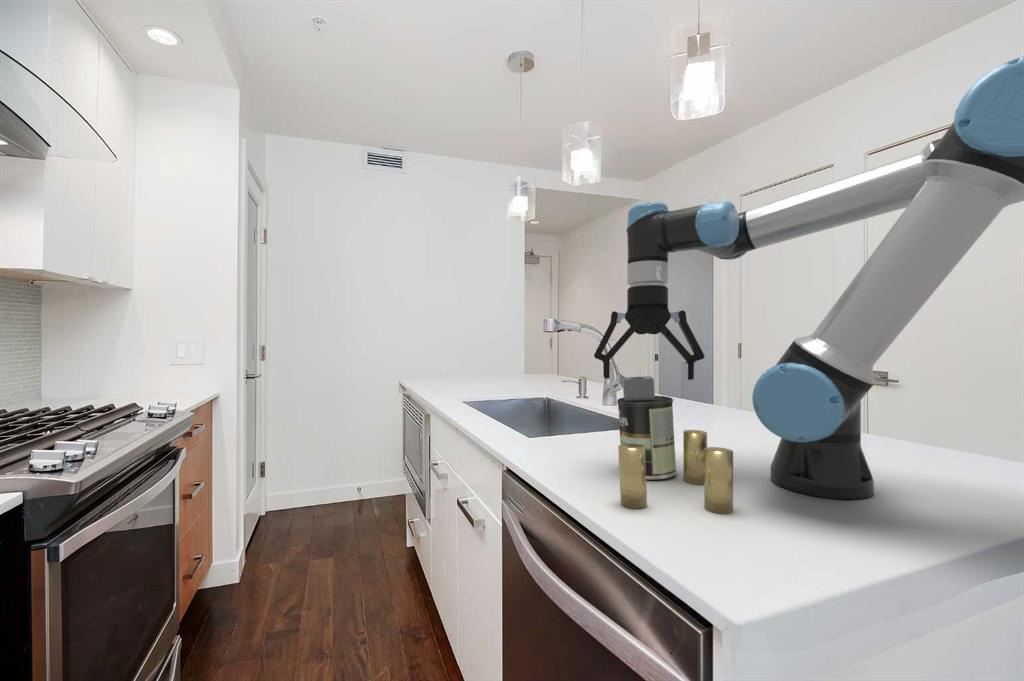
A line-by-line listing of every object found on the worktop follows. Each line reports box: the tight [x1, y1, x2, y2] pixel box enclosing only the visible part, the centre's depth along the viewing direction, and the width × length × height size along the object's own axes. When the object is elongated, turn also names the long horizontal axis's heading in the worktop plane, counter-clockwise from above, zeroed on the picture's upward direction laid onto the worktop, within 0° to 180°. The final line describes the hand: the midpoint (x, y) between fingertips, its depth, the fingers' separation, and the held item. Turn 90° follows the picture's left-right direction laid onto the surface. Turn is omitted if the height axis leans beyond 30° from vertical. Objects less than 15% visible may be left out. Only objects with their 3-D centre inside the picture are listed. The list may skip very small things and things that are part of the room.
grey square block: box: [622, 375, 656, 401], centre depth 90 cm, size 6×6×4 cm
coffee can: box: [616, 395, 677, 481], centre depth 89 cm, size 10×10×14 cm
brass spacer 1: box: [617, 444, 648, 510], centre depth 73 cm, size 4×4×9 cm
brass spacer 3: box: [703, 446, 734, 515], centre depth 71 cm, size 4×4×9 cm
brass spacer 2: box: [682, 429, 708, 486], centre depth 84 cm, size 4×4×9 cm
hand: (647, 396), depth 89 cm, fingers open, 13 cm apart
